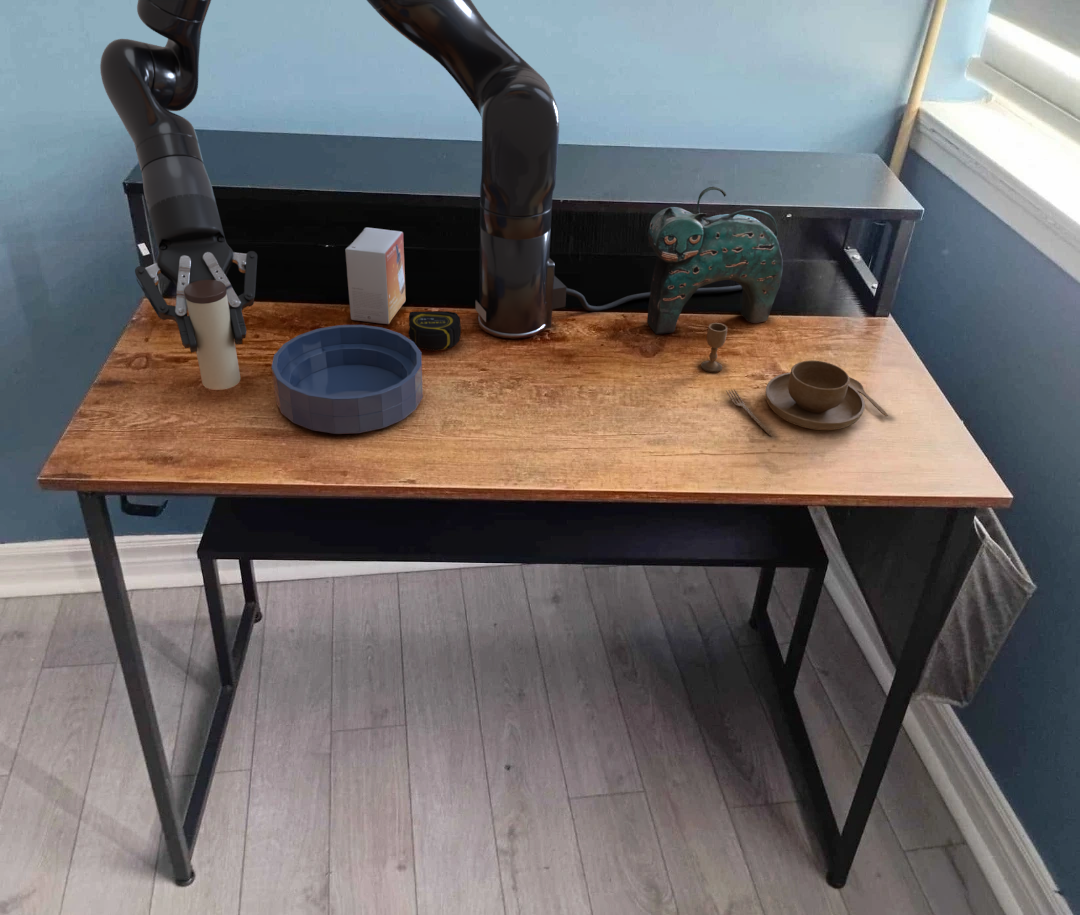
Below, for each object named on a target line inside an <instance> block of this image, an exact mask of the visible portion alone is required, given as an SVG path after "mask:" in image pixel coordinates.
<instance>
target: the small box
mask: <svg viewBox="0 0 1080 915" xmlns="http://www.w3.org/2000/svg"><path fill="white" fill-rule="evenodd" d="M404 243H405V242H404V232H403V231H400V230H392V229H391V230H390V229H383V228H377V227H376V228H374V227H364V228H363V230H362V231H361V232H360V233H359V234H358V236H357V237H356V238H355V239H354V240H353V242H351V243H350V244H349V245H348V246H347V247H346V248H345V249H344V250H345V251H344V252H345V262H346V277H347V287H348V302H349V312H350V320H352V321H358V322H367V323H373V324H374V323H376V324H381V325H382V324H383V325H390V323H391V322H392V320H393V318H394V317H395V316H396V314H397V313H398V312H399V310H400V309H401V308H402V306H403V305H404V304H405V303H406V300H407V298H406V274H405V273H406V272H405V249H404V248H405V247H404Z"/></svg>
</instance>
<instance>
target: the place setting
mask: <svg viewBox="0 0 1080 915" xmlns="http://www.w3.org/2000/svg"><path fill="white" fill-rule="evenodd" d="M706 333H707V334H706V343H707V345H708V346H709V347H710V353H709V355H708V357H709V360H704V361H702V362H701V363H700V368H701V369H702V370H703V371H705V372H707V373H719V372H721V371H722V370H723V365H722V364H721V363H720V362H718V361H717V359H718V349H720V348H722V347H723V346H724V345H725V344H726V340H727V335H728V326H727V325H726V324H724V323H721V322H712V323H709V324H708V328H707V332H706ZM725 392H726V394H727V396H728V397H729V399H730V400H731V402H732V403H733V405H734V406H736V407H740V408H742V409H743V410H744V411H745V412H746V413H747V414H748V416H750V417H751V419H752V420H753V421H754V422H755V423H756V424H757V425H758V426H759V427H760V428H761V429H762V430H763V431H764V432H765V433H766V434H767V435H768V436H771V437H772V436H773V434H772V432H771V431H770V430H769V429H768V428H767V427H766V426H765V424H763V423H762V421H761V420H760V419H759V418H758V417H757V416H756V415H755V414H754V413H753V412H752V411H751V410H750V409H749V407H747V406H746V404H745V402H744V401H743V400H742V398H741V397H740V395H739V394H738V392H737V391H736V389H735V388H733V389H732V388H731V389H730V390H725ZM863 396H864V397H863ZM764 397H765V400H766V402H767V404H768V406H769V408H770V409H771V410H772V412H774V413H775V414H776V415H777V416H779V417H780V418H781V419H783V420H784V421H787V422H788V423H791V424H792V425H796V426H798V427H801V428H805V429H808V430H809V429H811V430H815V431H817V430H818V431H835V430H841V429H844V428H847V427H849V426H851V425H853V424H855V423H856V422H857V421H858V420H859V419H860V418H861V417H862V416H863V413H864V411H865V407H866V404H865V403H866V402H865V399H864V398H866V399H867V400H868V402H870V404H872V405H873V407H874V408H875V409H876V410H878V411H879V412H880V413H881V414H882V415H884V416H885V417H889V415H888V413H887V412H886V410H884V408H883V407H881V405H879V404H878V403H877V402H876V401H875V400H874V399H873V398H872V397H871V396H870V395H868V394H867V392H866V391H865V390H864V385H863V384H861V382H860V381H859V380H857V379H855V378H853V377H851V376H849V374H848V373H847V372H846V371H845V370H844V369H843V368H841V367H840V366H838V365H835V364H833V363H830V362H827V361H822V360H814V359H813V360H803V361H799V362H797V363H795V364H794V365H793V366H792V367H791V369H790V372H784V373H781V374H778V375H776V376H774V377H772V378H771V379H770V380H769V381H768V383H767V384H766V386H765V396H764Z"/></svg>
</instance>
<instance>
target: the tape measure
mask: <svg viewBox="0 0 1080 915" xmlns="http://www.w3.org/2000/svg"><path fill="white" fill-rule="evenodd" d="M408 326H409V327H408V339H410V340H412V341H413V342H414V343H415V344H416V346H417V347H418V349H420V350H421V349H422V350H426V351H443V350H449V349H452V348H453V347H455V346H456V345H457V344H458V343H459V342H460V340H461V331H462V330H461V329H462V328H461V316H460V315H459V314H458V313H457V312H454V311H445V310H444V311H443V310H431V311H430V310H429V311H428V310H427V311H409V316H408Z"/></svg>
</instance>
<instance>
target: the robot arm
mask: <svg viewBox="0 0 1080 915" xmlns="http://www.w3.org/2000/svg"><path fill="white" fill-rule="evenodd" d="M366 2H367V3H368V4H369V5H370V6H371V7H372V8H373V9H374V10H375V12H377V14H379V15H380V17H382V19H383V20H385V22H387V23H388V24H389V25H390V26H391V27H392V28H394V30H396V32H397V33H400V34H401V35H402V36H403V37H404V38H406V39H407V40H408V41H410V42H411V43H412V44H413V45H415V46H416V47H418V48H419V49H421V50H422V51H423V52H425V54H428V55H429V56H430V57H432V58H433V59H434V60H435V61H436V62H437V63H438V64H440V65H441V67H443V68H444V69H445V71H446V72H447V73H448V74H449V75H450V76H451V77H452V78H453V80H454V81H455V82H456V83H457V85H458V86H459V87H460V88H461V90H462V92H464V93H465V95H466V96H467V97H468V99H469V100H470V102H471V103H472V104H473V106H474V108H475V109H476V110H477V112H478V114H479V115H480V118H481V174H480V175H481V177H480V184H479V195H480V196H479V202H480V203H479V282H478V283H479V284H478V285H479V294H478V296H479V298H478V299H479V300H475V312H477V314H478V318H477V319H478V325H479V328H481V329H482V330H483V332H486V333H487V334H489V335H491V336H494V337H498V338H503V339H514V340H515V339H525V338H531V337H534V336H536V335H538V334H540V333H542V332H543V331H544V330H545V329H548V328H551V327H552V324H553V323H552V321H553V310H555V309H561V308H565V307H566V301H567V299H566V298H567V295H570V296H572V297H574V298H577V299H578V300H579V302H580V304H581V306H582V308H583V309H584V310H586V311H588V312H592V313H594V312H600V311H605V310H609V309H613V308H616V307H618V306H620V305H624V304H625V303H629V302H631V301H637V300H643V299H650V292H651V291H648V292H641V293H636V294H635V293H634V294H631V295H627V296H624V297H622V298H619V299H616V300H614V301H612V302H609V303H606V304H603V305H597V306H596V305H590V304H589V303H588V302H587V300H586V297H585V296H584V295H583V294H582V293H581V292H579V291H578V290H575V289H573V288H568V287H567V286H566V285H565V284H564V283H563V282H562V281H561V280H560V279H559V278H558V277H557V276H556V275H555V269H556V265H555V262H554V261H553V260H552V259H551V258H550V248H551V229H552V213H553V212H552V208H553V195H554V190H555V187H556V182H557V169H558V167H557V166H558V157H559V156H558V154H559V143H560V142H559V140H560V113H559V107H558V104H557V102H556V99H555V96H554V94H553V91H552V89H551V87H550V85H549V84H548V82H547V81H546V79H545V78H544V77H543V76H542V75H541V74H540V73H538V71H537V70H536V69H535V68H533V67H532V66H531V65H530V64H529V63H528V62H527V61H526V60H524V59H523V58H522V57H521V55H519V54H518V53H517V52H516V51H515V50H514V49H513V48H512V47H511V46H510V45H509V44H508V43H507V42H506V41H505V40H504V39H503V38H502V37H501V36H500V35H499V34H498V33H497V32H496V31H495V29H493V28H492V26H490V24H489V23H488V22H487V21H486V19H485V18H484V17H483V15H482V14H481V13H480V11H479V10H478V9H477V7H476V5H475V4H474V3H473V1H472V0H366ZM211 3H212V0H137V4H136V12H137V15H138V17H139V19H140V21H141V22H142V23H143V24H144V25H145V26H146V27H147V28H148V29H150V30H151V31H153V32H155V33H156V34H158V35H160V36H162V37H164V38H166V39H167V41H166V44H165V46H161V45H157V44H152V43H149V42H144V41H138V40H134V39H130V38H118V39H114V40H112V41H111V42H109V43H108V44H107V46H106V47H105V48H104V50H103V52H102V55H101V58H100V65H99V66H100V67H99V68H100V77H101V82H102V85H103V88H104V90H105V93H106V95H107V97H108V99H109V101H110V103H111V105H112V107H113V109H114V110H115V112H116V114H117V115H118V117H119V118H120V120H121V122H122V124H123V126H124V128H125V130H126V131H127V134H128V135H129V136H130V139H132V142H133V144H134V148H135V153H136V156H137V160H138V164H139V169H140V172H141V177H142V187H143V194H144V199H145V202H146V204H145V205H146V210H147V212H148V215H149V219H150V222H151V227H152V232H153V236H154V239H155V244H156V248H157V252H158V254H157V257H156V262H155V263H153V264H150V265H148V266H145V267H144V266H143V265H140V266H136V267H135V270H134V274H135V279H136V282H137V284H138V285H139V287H140V288H141V290H142V292H143V294H144V295H145V297H146V299H147V300H148V302H149V303H150V305H151V307H152V309H153V310H154V312H155V314H156V315H157V317H158V318H159V319H160V320H163V321H166V320H170V321H174V322H175V323H176V324H177V329H178V332H179V336H180V340H181V344H182V346H183V348H184V349H189V350H190V353H196V352H197V344H196V340H195V336H194V332H193V327H192V323H191V319H190V316H189V314H188V313H189V312H188V307H187V302H186V298H185V294H184V288H185V287H186V286H187V285H189V284H190V283H193V282H196V281H200V280H217V281H220V282H223V283H224V284H225V286H226V290H227V299H228V305H229V311H230V317H231V323H232V329H233V335H234V341H235V346H239V345H243V340H244V339H246V337H247V327H246V323H245V322H246V321H245V318H244V314H243V310H244V309H246V308H247V307H248V308H249V307H250V308H251V307H253V306H254V303H255V297H256V286H257V285H256V283H257V270H258V269H257V265H258V254H257V252H256V251H254V250H250V251H249V250H248V252H247V253H243V252H235V251H234V250H233V249H232V247H231V246H229V244H228V242H227V240H226V237H225V233H224V229H223V225H222V221H221V216H220V213H219V209H218V206H217V200H216V197H215V193H214V189H213V186H212V182H211V180H210V177H209V175H208V171H207V169H206V166H205V164H204V159H203V155H202V150H201V146H200V143H199V142H200V141H199V138H198V135H197V132H196V129H195V127H194V125H193V124H192V123H191V122H190V121H189V120H188V119H186V118H185V117H184V116H181V115H179V114H177V113H175V112H179V111H182V110H184V109H186V108H187V107H188V106H189V105H190V104H191V103H192V102H193V101H194V99H195V98H196V96H197V93H198V88H199V76H200V75H199V74H200V73H199V72H200V51H201V38H202V30H203V25H204V22H205V20H206V17H207V13H208V11H209V8H210V5H211ZM233 263H234V264H236V265H237V268H238V269H237V270H238V271H239V273H242V274H244V283H243V293H241V294H239V295H237V293H236V292H235V290H234V288H233V286H232V284H231V282H230V280H229V278H228V277H227V275H228V273H229V271H230V270H231V267H232V265H233ZM159 274H161V275H163V276H164V277H165V278H167V279H168V280H169V281H170V283H172V284H174V285H175V287H176V297H175V298H176V299H175V305H172V304H168V303H167V302H166V300H165V298H164V296H163V295H162V293H161V291H160V290H159V289H158V287H157V286H158V284H160V283H159V282H160V280H159ZM738 291H743V288H742V286H741V285H740V284H737V285H730V286H729V285H728V286H719V287H717V286H716V287H700V288H699V289H697V290H696V292H695V293H694V294H693V295H698V294H699V295H700V294H720V293H721V294H722V293H731V292H738ZM478 301H479V302H478Z"/></svg>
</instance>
